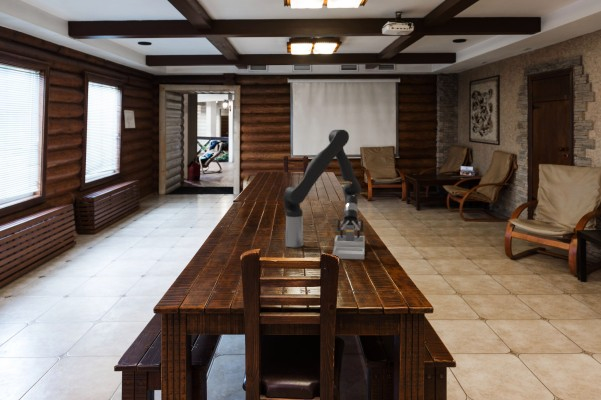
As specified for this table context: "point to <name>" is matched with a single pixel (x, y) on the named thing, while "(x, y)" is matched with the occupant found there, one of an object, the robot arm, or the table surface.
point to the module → (349, 232)
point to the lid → (349, 252)
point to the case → (350, 242)
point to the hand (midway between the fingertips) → (349, 237)
